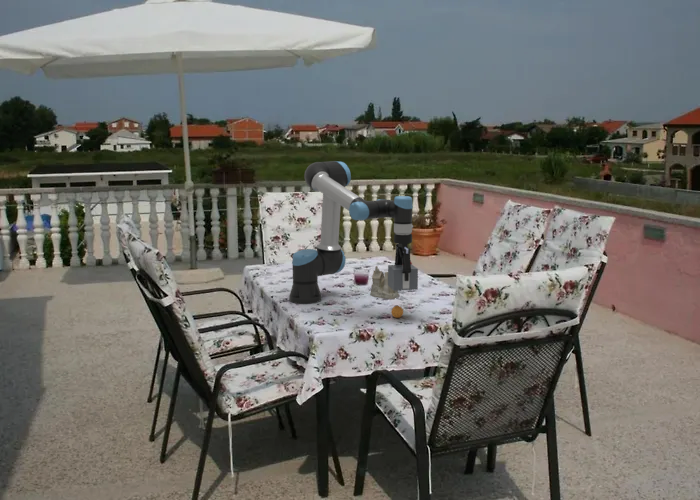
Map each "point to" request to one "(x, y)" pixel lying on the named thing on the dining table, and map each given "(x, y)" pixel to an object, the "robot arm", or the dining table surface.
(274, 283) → the dining table surface
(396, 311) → the ball
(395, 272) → the smooth grey cube
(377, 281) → the ceramic cottage
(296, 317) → the dining table surface
